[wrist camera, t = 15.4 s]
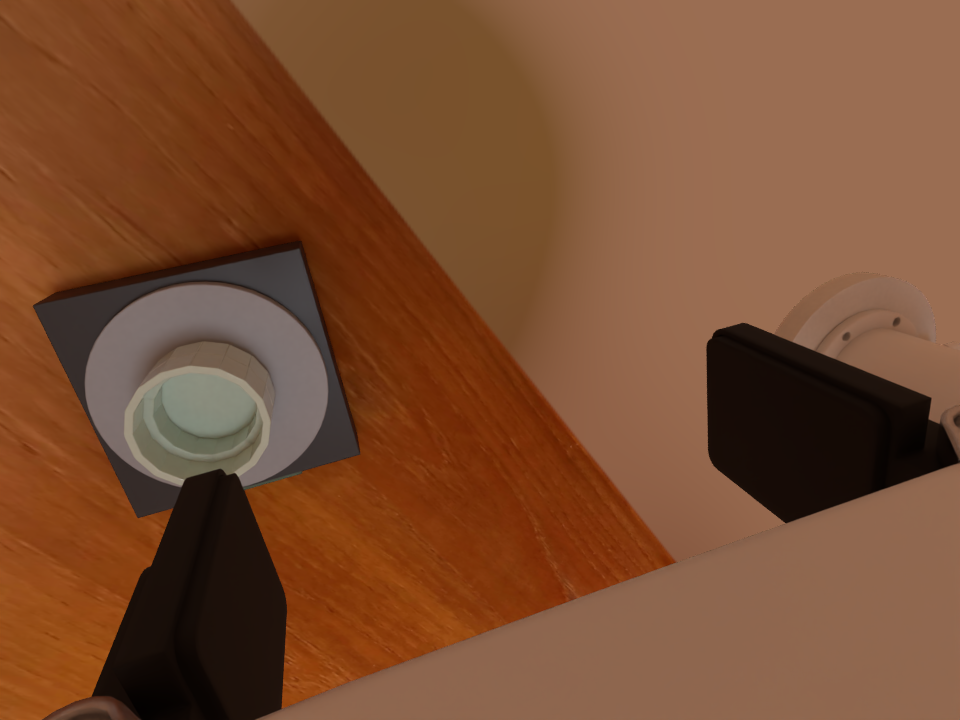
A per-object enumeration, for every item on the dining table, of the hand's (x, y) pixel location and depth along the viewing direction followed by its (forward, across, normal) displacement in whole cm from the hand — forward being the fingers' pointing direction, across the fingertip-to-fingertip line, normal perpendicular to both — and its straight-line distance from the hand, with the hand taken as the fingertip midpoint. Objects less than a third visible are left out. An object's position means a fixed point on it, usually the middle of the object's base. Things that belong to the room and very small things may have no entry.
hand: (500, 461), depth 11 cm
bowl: (+24, +11, +6) cm, 28 cm away
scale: (+28, +11, +6) cm, 31 cm away
